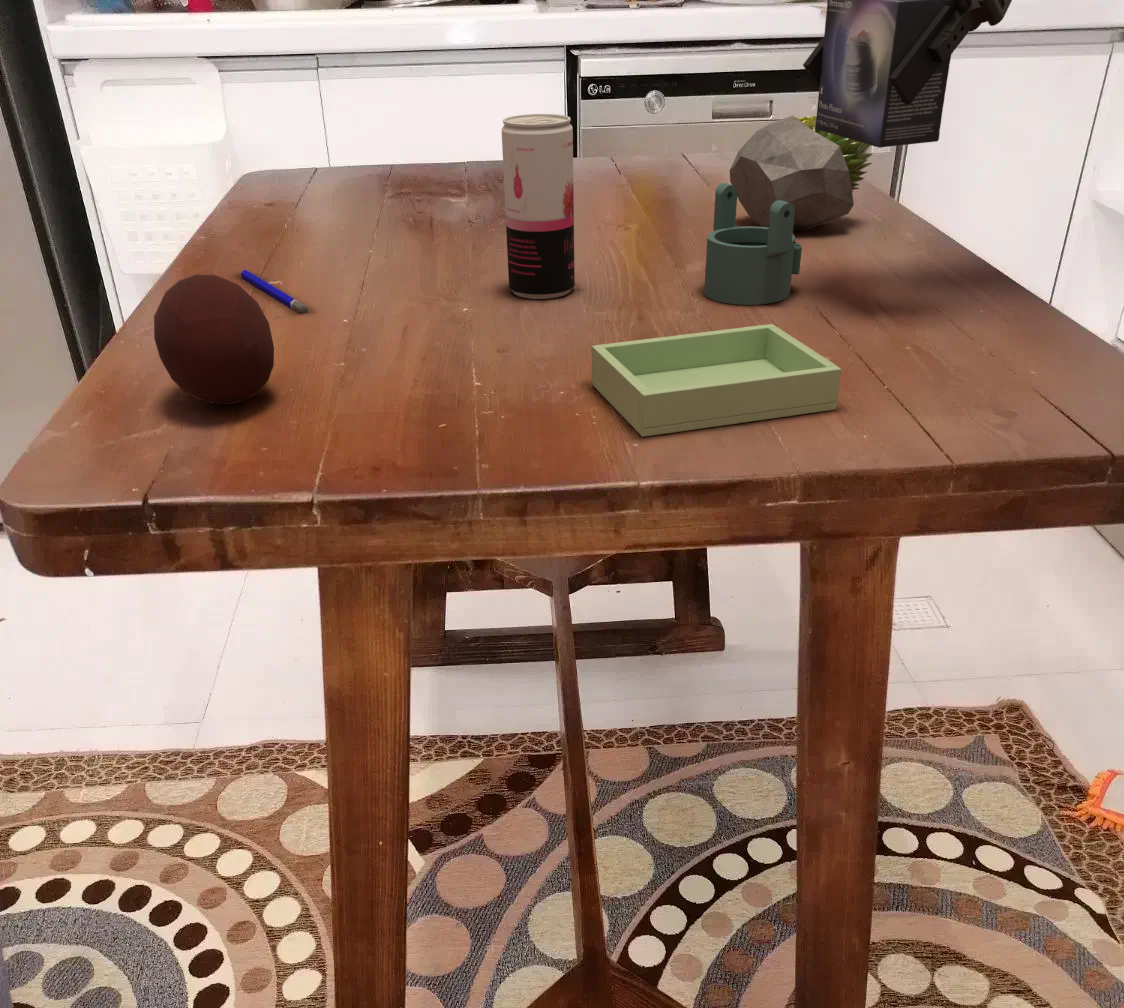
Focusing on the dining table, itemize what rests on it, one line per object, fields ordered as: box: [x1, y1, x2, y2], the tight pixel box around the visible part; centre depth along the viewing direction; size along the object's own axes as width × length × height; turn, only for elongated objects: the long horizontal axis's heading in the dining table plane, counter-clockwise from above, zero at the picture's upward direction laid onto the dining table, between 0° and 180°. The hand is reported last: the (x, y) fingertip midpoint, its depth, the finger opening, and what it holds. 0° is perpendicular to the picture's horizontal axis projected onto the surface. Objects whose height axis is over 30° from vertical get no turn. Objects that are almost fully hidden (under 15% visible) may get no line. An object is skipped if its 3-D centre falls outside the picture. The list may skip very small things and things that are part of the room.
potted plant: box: [729, 115, 873, 232], centre depth 125 cm, size 12×13×15 cm
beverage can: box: [501, 113, 576, 300], centre depth 105 cm, size 7×7×15 cm
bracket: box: [703, 182, 803, 306], centre depth 105 cm, size 9×9×9 cm
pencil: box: [240, 269, 309, 315], centre depth 111 cm, size 17×1×1 cm, turn 33°
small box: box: [815, 0, 956, 149], centre depth 93 cm, size 11×6×10 cm, turn 21°
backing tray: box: [591, 323, 842, 438], centre depth 84 cm, size 12×16×3 cm
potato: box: [153, 274, 275, 405], centre depth 84 cm, size 9×12×9 cm
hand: (854, 84), depth 93 cm, fingers closed on small box, 11 cm apart
